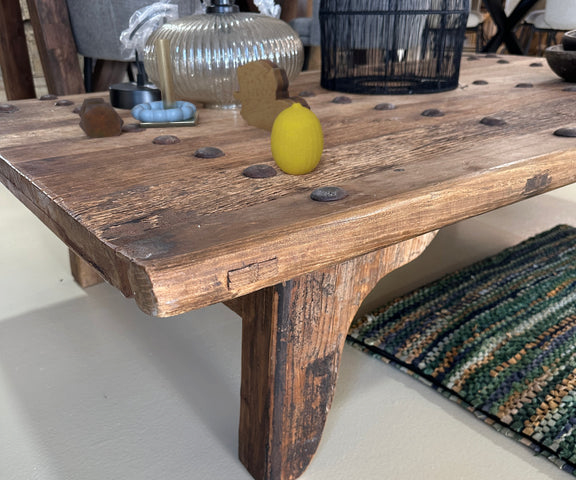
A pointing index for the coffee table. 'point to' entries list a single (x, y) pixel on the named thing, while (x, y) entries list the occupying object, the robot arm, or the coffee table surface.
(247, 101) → the wooden carving
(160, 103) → the ring
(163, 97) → the post
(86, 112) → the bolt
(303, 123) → the lemon
